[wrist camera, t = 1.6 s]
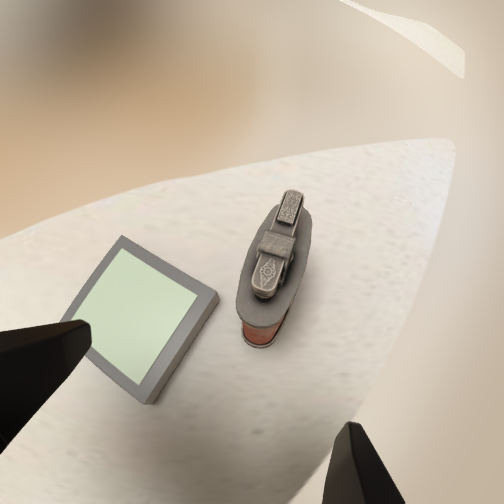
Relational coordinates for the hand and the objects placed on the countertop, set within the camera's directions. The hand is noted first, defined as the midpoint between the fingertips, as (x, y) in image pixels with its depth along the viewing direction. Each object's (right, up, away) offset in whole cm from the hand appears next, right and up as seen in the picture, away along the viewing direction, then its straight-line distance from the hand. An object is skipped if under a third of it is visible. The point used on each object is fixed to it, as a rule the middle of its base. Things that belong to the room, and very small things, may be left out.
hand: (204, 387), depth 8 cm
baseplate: (-8, -1, +14) cm, 16 cm away
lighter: (+3, 0, +15) cm, 16 cm away
